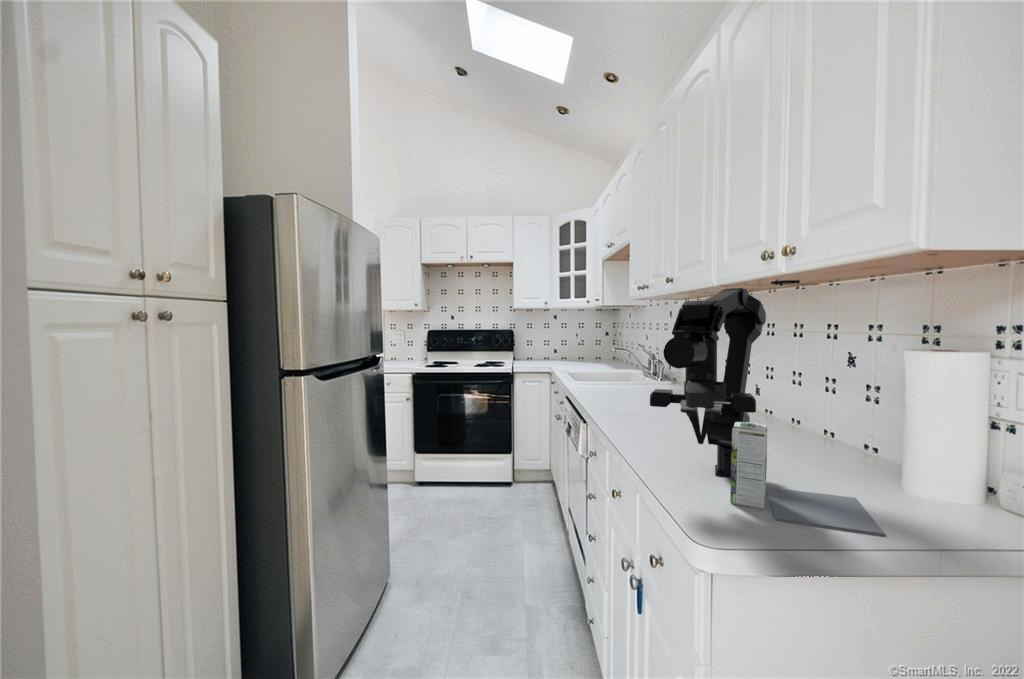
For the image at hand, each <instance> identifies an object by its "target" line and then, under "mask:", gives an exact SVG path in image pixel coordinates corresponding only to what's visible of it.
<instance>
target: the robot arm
mask: <svg viewBox="0 0 1024 679" xmlns="http://www.w3.org/2000/svg"><path fill="white" fill-rule="evenodd" d="M766 321H767V314H766V310H765V307H764V306H763V303H762V302H761V300H759V299H757V298H756V297H754V296H752V295H751V294H749V292H748V289H747V288H744V287H733V288H732V287H731V288H724V289H721V290H720V291H719V292H718V293H716V294H714V295H712V296H710V297H708V298H706V299H702V300H701V299H700V300H685V301H684V302H683V303H682V305H681V307H679V310H678V313H677V316H676V319H675V322H674V325H673V328H672V332H671V335H672V336H673V337H672V338H670V339H669V340H668V341H667V342H666V343H665V346H664V347H663V350H662V351H663V352H662V353H663V358H664V360H665V361H666V363H667V364H668V365H669V366H671V367H672V368H674V369H685V372H684V373H685V376H684V377H685V383H684V386H683V387H684V388H683V390H684V391H683V392H684V393H683V394H682V393H673V392H674V391H673V389H665V388H664V389H662V388H656V389H654V390H653V391H652V392H651V393H650V395H649V406H650V407H653V408H654V407H657V408H667V407H668V406H669V405H670V404H679V406H680V412H681V413H685V414H686V416H687V417H688V419H689V421H690V423H691V425H692V426H691V427H692V428H693V431H694V435H695V438H696V441H697V443H698V445H704V443H705V440H706V436H707V443H708V445H713V446H716V447H717V449H716V453H717V454H716V464H715V465H714V470H715V471H714V475H715V476H723V477H730V478H731V455H732V428H733V426H734V424H735V422H749V423H750V419H751V417H750V415H749V413H756V412H757V400H756V398H755V396H754V395H753V394H752V393H748V392H747V393H746V387H747V383H748V382H747V380H748V375H749V373H748V372H749V365H750V360H751V353H752V352H751V351H752V345H753V344H754V342H755V341H756V340H757V339H758V338H759V337H760V336H761V335H762V331H763V328H764V325H765V324H766ZM722 327H723V328H724V331H725V332H726V334H727V337H728V338H729V342H728V347H727V355H726V356H727V357H726V361H725V367H724V368H725V369H724V375H723V381H718V341H720V340H719V339H720V337H719V335H718V333H719V332H720V331H721V329H722ZM698 408H699V409H700V408H701V409H703V408H704V412H703V417H702V418H703V419H702V427H701V426H700V425H701V424H700V418H699V409H698Z"/></svg>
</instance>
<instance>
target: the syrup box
mask: <svg viewBox="0 0 1024 679" xmlns="http://www.w3.org/2000/svg"><path fill="white" fill-rule="evenodd" d="M768 427H769V426H768V425H766V424H761V423H757V422H750V421H749V422H735V424H734V426H733V428H732V455H731V477H730V492H729V493H730V496H729V497H730V499H729V501H730V503H731V504H733V505H739V506H745V507H749V508H750V507H752V508H757V509H758V508H759V509H765V507H766V499H767V498H766V496H767V493H766V487H767V462H768V458H767V457H768V429H769V428H768Z"/></svg>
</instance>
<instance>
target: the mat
mask: <svg viewBox="0 0 1024 679" xmlns="http://www.w3.org/2000/svg"><path fill="white" fill-rule="evenodd" d="M766 496H767V498H768V499H767V500H768V501H769V504H770V509H771V512H772V514H773V517H774V520H775V521H778V522H785V523H790V524H791V523H792V524H797V525H805V526H812V527H818V528H826V529H833V530H838V531H840V530H841V531H845V532H852V533H860V534H865V535H866V534H867V535H868V534H869V535H874V536H880V537H886V532H884V530H883V529H882V528H881V527H880V525H878V523H877V522H876V520H874V518H873V517H872V516H871V514H870V513H869V512H868V511H867V510H866V508H865V507H864V506H863V505H862V504H861V502H860V501H859V500H858V498H856V497H853V496H845V495H835V494H829V493H820V492H813V491H812V492H811V491H805V490H804V491H802V490H795V489H786V488H780V487H779V488H778V487H770V486H768V487H767V486H766Z"/></svg>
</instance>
